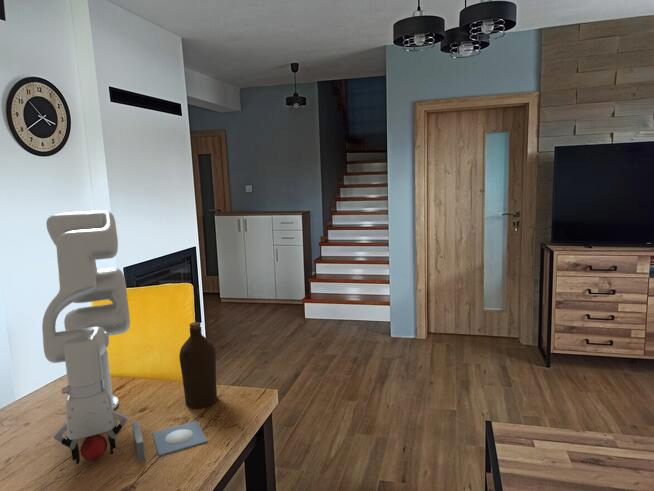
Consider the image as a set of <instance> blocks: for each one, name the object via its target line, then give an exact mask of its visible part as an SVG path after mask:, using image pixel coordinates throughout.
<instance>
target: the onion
mask: <svg viewBox="0 0 654 491" xmlns="http://www.w3.org/2000/svg"><path fill="white" fill-rule="evenodd" d="M107 450H108V441H107V439H106V438H105V437H104V436H103V435H102V434H98V435H94V436H90V437H86V438H84V440H83V441H82V443H81V446H80V454H81V457H82V458H83V459H84V460H85V461H87V462H93V463H97V462H99V460H100V459H101V458H102V457H104V455H105V454H106V452H107Z"/></svg>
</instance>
